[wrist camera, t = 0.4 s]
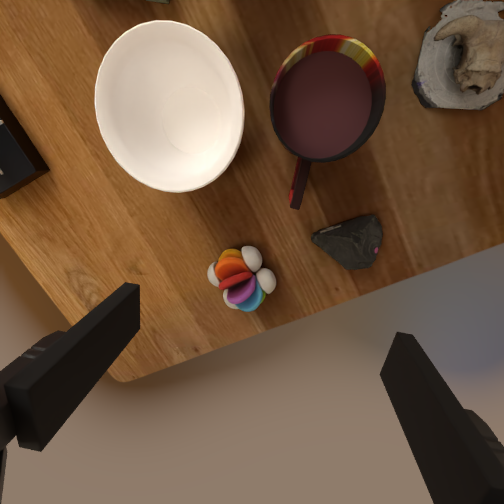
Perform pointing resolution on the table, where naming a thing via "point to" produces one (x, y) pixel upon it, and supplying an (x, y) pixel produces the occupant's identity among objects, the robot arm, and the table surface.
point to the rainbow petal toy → (242, 278)
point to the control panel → (16, 154)
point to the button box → (161, 1)
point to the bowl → (169, 106)
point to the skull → (462, 57)
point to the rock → (352, 241)
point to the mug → (326, 103)
